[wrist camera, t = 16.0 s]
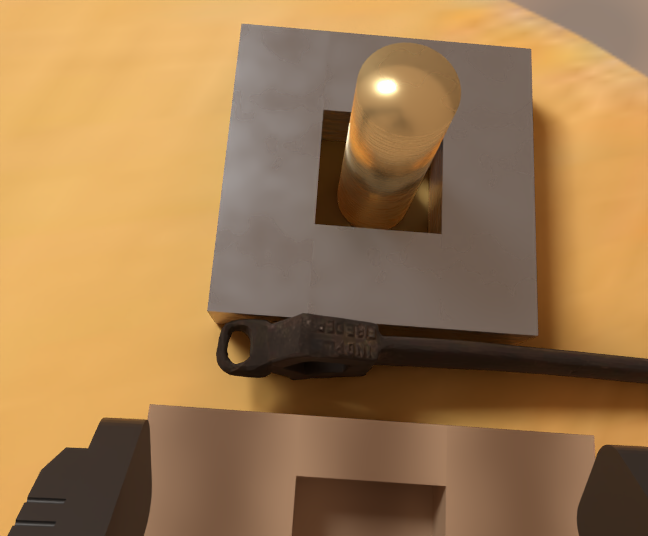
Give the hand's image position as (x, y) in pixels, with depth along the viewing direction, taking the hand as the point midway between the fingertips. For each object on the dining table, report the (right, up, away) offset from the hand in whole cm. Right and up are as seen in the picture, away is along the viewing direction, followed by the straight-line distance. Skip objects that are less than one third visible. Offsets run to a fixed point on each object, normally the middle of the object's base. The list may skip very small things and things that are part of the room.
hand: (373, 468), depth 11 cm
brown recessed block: (0, -8, +16) cm, 18 cm away
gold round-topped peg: (+2, +7, +20) cm, 21 cm away
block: (+2, +7, +20) cm, 21 cm away
